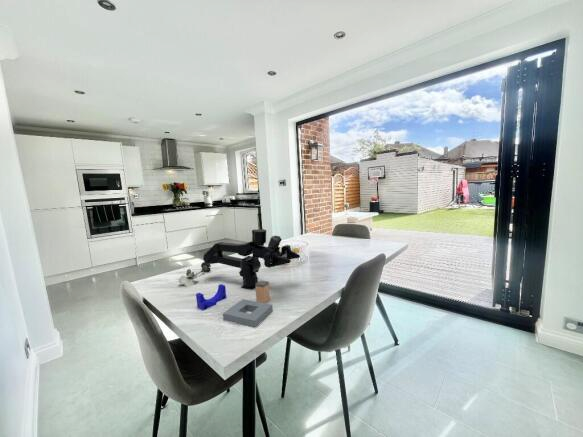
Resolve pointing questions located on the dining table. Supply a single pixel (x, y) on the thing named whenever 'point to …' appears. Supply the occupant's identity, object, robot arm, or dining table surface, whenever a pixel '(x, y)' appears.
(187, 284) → the artificial flower
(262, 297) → the tan upright block
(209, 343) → the dining table surface
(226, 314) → the socket plate
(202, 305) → the cable clip
